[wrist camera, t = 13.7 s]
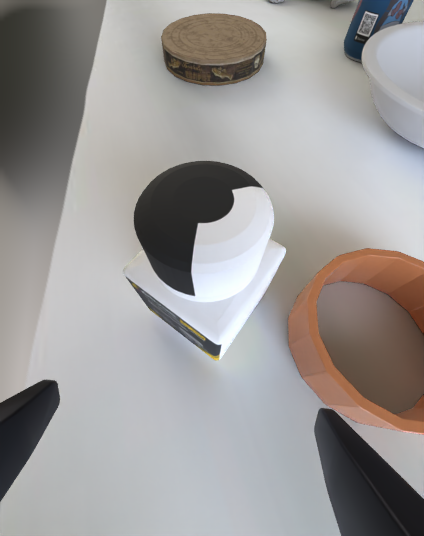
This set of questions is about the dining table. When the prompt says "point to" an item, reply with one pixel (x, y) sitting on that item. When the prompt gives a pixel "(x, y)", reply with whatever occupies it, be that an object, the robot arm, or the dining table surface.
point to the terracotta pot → (314, 351)
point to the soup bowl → (398, 77)
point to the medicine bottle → (204, 251)
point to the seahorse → (335, 2)
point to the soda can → (372, 23)
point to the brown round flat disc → (213, 48)
